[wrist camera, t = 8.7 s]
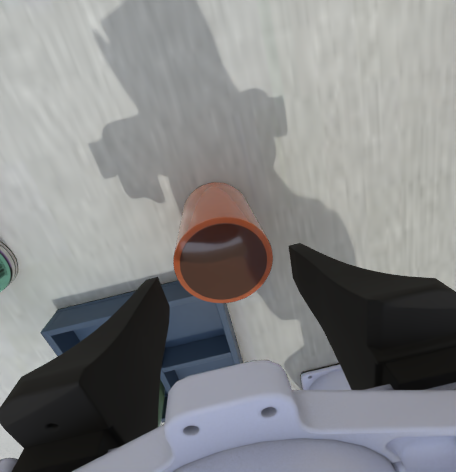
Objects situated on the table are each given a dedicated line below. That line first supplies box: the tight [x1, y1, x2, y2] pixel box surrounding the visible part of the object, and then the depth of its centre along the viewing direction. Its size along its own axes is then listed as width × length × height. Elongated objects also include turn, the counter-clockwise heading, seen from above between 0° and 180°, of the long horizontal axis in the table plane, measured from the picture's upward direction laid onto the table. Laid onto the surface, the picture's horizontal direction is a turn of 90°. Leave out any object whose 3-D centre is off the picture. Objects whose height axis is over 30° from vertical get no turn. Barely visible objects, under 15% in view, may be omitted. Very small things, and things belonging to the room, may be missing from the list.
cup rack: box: [41, 281, 243, 422], centre depth 26 cm, size 15×15×3 cm
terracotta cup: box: [173, 183, 273, 303], centre depth 18 cm, size 6×6×8 cm
